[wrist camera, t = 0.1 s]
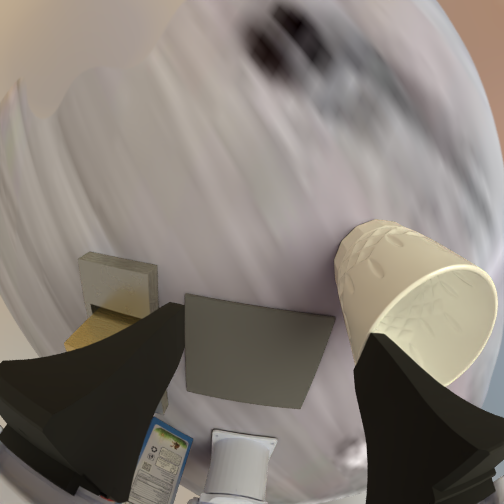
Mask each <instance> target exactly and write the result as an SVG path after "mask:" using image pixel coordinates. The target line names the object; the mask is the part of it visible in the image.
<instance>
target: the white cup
mask: <svg viewBox="0 0 504 504" xmlns="http://www.w3.org/2000/svg"><path fill="white" fill-rule="evenodd" d="M334 269H335V281H336V284H337V288H338V294H339V299H340V304H341V307H342V312H343V317H344V321H345V325H346V329H347V333H348V337H349V341H350V345H351V350H352V354H353V359H354V363H355V366H356V364H357V362H358V359H359V357H360V355H361V353H362V351H363V349H364V346H365V344H366V342H367V340H368V337H369V335H370V333H383V334H385V335H386V336H388V337H389V338H390V339H391V340H392V341H394V342H395V343H396V344H397V345H398V346H399V347H400V348H401V349H402V350H403V351H404V352H405V353H406V354H407V355H409V356H410V357H411V358H412V359H413V360H414V361H415V362H416V363H417V364H418V365H419V366H420V367H421V368H423V369H424V370H425V371H426V372H427V373H428V374H430V375H431V376H432V377H433V378H434V379H435V380H437V381H438V382H439V383H440V384H442V385H443V386H444V387H446V386H448V385H449V384H450V383H452V382H453V381H454V380H456V379H457V378H458V377H459V376H460V375H462V374H463V373H464V372H465V371H466V370H467V369H468V368H469V367H470V366H471V364H472V363H473V362H474V361H475V360H476V358H477V357H478V356H479V354H480V353H481V351H482V350H483V348H484V347H485V345H486V343H487V341H488V339H489V337H490V335H491V332H492V330H493V327H494V324H495V320H496V315H497V307H498V299H497V292H496V288H495V285H494V283H493V281H492V279H491V278H490V276H489V275H488V274H487V273H486V272H485V271H484V270H482V269H481V268H479V267H477V266H476V265H474V264H473V263H471V262H469V261H468V260H466V259H464V258H463V257H461V256H459V255H458V254H456V253H454V252H453V251H451V250H449V249H448V248H446V247H444V246H443V245H441V244H439V243H437V242H436V241H434V240H432V239H430V238H428V237H426V236H423V235H422V234H420V233H418V232H416V231H413V230H411V229H408V228H405V227H403V226H401V225H400V224H398V223H396V222H393V221H385V220H378V219H375V220H372V221H369V222H367V223H364V224H361V225H359V226H356V227H355V228H354V229H353V230H352V231H351V232H350V233H349V234H348V235H347V236H346V237H345V238H344V239H343V240H342V241H341V244H340V246H339V249H338V252H337V254H336V256H335V259H334Z"/></svg>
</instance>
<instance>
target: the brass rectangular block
mask: <svg viewBox="0 0 504 504" xmlns="http://www.w3.org/2000/svg"><path fill="white" fill-rule="evenodd" d="M139 320H141V318H137V317H134V316H130V315H127V314H123V313H120V312H116V311H113V310H109V309H106V308H103V307H100V308H99V309H98V310H96V311H95V312H94V313H93V314H92V315H91V316H90V317H89V318H88V319H87V320H86V321H85V322H84V323H83V324H82V325H81V326H80V327H79V328H78V329H77V330H76V331H75V332H74V333H73V334H72V335H71V336H70V337H69V339H68V340H67V341H66V342H65V343H64V345H65V348H66V351H67V352H68V351H72V350H75V349H78V348H82V347H85V346H88V345H90V344H93V343H95V342H98V341H100V340H103V339H105V338H107V337H109V336H111V335H113V334H115V333H117V332H119V331H121V330H123V329H125V328H127V327H129V326H131V325H132V324H134V323H136V322H138V321H139Z"/></svg>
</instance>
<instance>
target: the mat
mask: <svg viewBox="0 0 504 504" xmlns="http://www.w3.org/2000/svg"><path fill="white" fill-rule="evenodd" d="M335 319H336V318H335V317H334V316H325V315H317V314H309V313H302V312H294V311H287V310H280V309H274V308H267V307H261V306H254V305H248V304H242V303H236V302H230V301H225V300H219V299H214V298H208V297H203V296H198V295H192V294H187V293H186V294H185V358H186V384H187V391H189V392H193V393H197V394H202V395H206V396H211V397H216V398H221V399H226V400H232V401H237V402H243V403H250V404H257V405H264V406H272V407H281V408H292V409H301V407H302V404H303V402H304V400H305V397H306V395H307V393H308V390H309V388H310V386H311V383H312V381H313V378H314V376H315V373H316V371H317V368H318V366H319V363H320V361H321V358H322V356H323V353H324V350H325V347H326V345H327V342H328V339H329V336H330V334H331V331H332V328H333V325H334V322H335Z"/></svg>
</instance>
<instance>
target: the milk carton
mask: <svg viewBox="0 0 504 504" xmlns="http://www.w3.org/2000/svg"><path fill="white" fill-rule="evenodd" d="M192 441H193V439H192V438H190V437H189V436H187V435H185V434H183V433H181V432H179V431H178V430H176V429H174V428H172V427H171V426H169V425H167V424H166V423H164V422H162V421H161V420H159V419H157V418H156V417H153V418H152V420H151V423H150V425H149V428H148V431H147V434H146V437H145V440H144V443H143V446H142V449H141V452H140V455H139V459H138V463H137V466H136V470H135V474H134V477H133V482H132V486H131V491H130V495H129V501H127V502H124V503H117V502H115V501H112V500H110V499H106V498H104V497H102V496H100V495H99V497H101V498H103V499H106V500H108V501H110V502H112V503H114V504H173V503H174V500H175V497H176V493H177V490H178V487H179V483H180V480H181V477H182V474H183V470H184V467H185V464H186V460H187V457H188V454H189V451H190V447H191V444H192Z"/></svg>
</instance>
